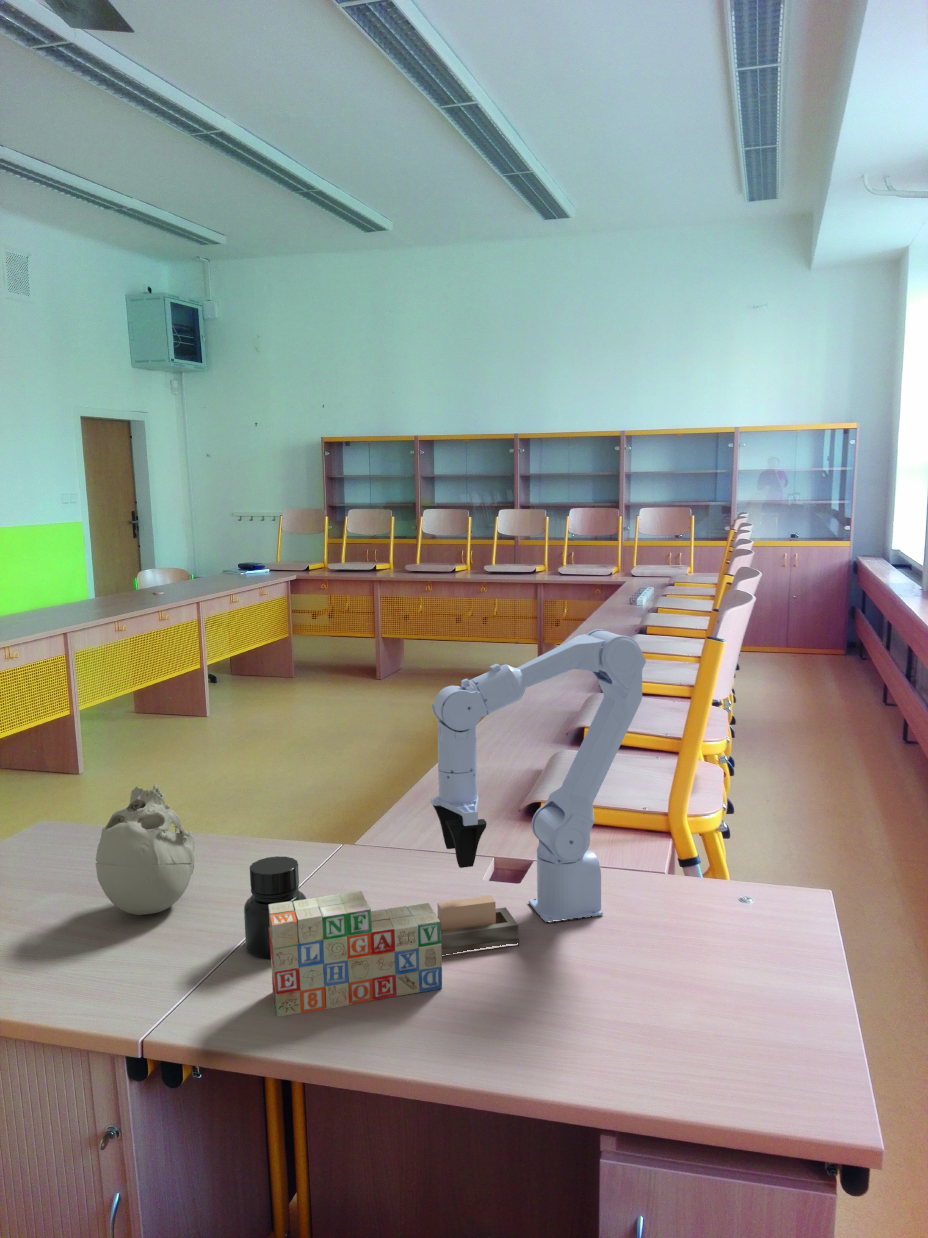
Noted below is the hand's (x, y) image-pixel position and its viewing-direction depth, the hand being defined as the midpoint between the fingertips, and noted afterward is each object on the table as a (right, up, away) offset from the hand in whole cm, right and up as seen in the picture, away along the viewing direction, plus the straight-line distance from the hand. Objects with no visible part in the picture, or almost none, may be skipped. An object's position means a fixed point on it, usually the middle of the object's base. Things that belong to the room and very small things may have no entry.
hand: (459, 857), depth 135 cm
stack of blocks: (-13, -13, -17) cm, 26 cm away
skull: (-49, -11, +7) cm, 51 cm away
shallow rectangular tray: (+2, -11, -5) cm, 12 cm away
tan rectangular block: (+1, -10, -5) cm, 11 cm away
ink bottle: (-26, -12, -5) cm, 29 cm away
